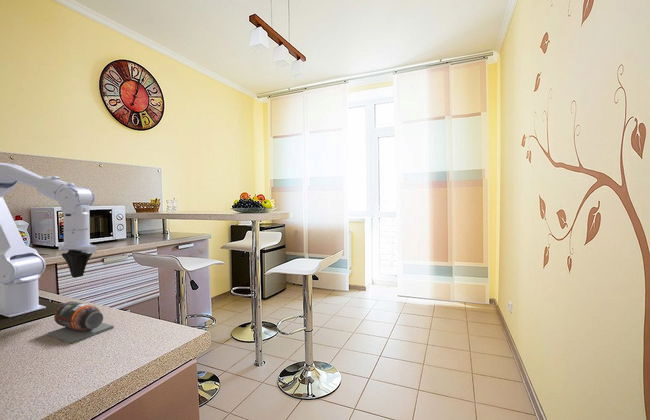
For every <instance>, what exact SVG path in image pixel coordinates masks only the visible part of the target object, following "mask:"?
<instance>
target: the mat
mask: <svg viewBox="0 0 650 420" xmlns="http://www.w3.org/2000/svg"><path fill="white" fill-rule="evenodd" d="M114 327H115V326H114V325H112V324H109V323H105V322H102V323H101V324H100V325H99V326H98V327H96V328H94V329H90V330H87V331H78V330H75V329H71V328H68V327H64V326H63V327H61V328H59V329H55V330H52V331H48V332H47V336H49V337H52V338H55V339H57V340H58V339H59V340H61V341H63V342H67V343H70V344H74V343H77V342H79V341H82V340H85V339H87V338H90V337H93V336H95V335H98V334H102V333H104V332H107V331H109V330H111V329H114Z"/></svg>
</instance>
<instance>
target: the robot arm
mask: <svg viewBox="0 0 650 420" xmlns="http://www.w3.org/2000/svg"><path fill="white" fill-rule="evenodd" d="M18 183H22V184H25V185H27V186H29V187H30V186H31V187H32V188H36V191H37V193H39V194H40V195H42V196H44V197H47V198H49V199H51V200H54V201H56V202H57V203H58V205H59V206H60V209H61V210H60V212H61V214H63V242H61V243H58V250H59V251H67V252H64V253H61V256H62V258H63V260H64V261H65V262H66V264H67V266H68V269H69V272H70V275H71V277H72V278H74V279H75V278H79V277H80V278H81V277H83V276H84V273H85V271H86V267H87V265H88V261H89V260H90V258H91V257H92V255H93V254H96V253H98V251H97V245H94V244H92V243H91V237H90V236H91V235H90V233H91V232H90V231H91V229H90V224H91V223H90V222H91V221H90V207H91V206H92V205H93V203H94V202H95V194H94V192H93V191H92V190H91V189H89V188H88V187H85V186H84V187H77V186H76V184H75V183H73V182H66V181H65V180H64V181H63V180H61V176H57V175H52V176H51V175H50V176H44V177H43V176H41V175H39V174H38V173H35V172H33V171H31V170H28V169H27V168H24V167H23V166H22V165H18V164H15V163H11V162H10V163H5V162H0V315H2V316H4V317H8V318H12V317H16V316H17V317H18V316H20V315H24V314H27V313H31V312H35V311H40V310H43V309H46V306H44V305H41V304H40V303H39V299H40V298H39V278H41V277H42V274H43V273H44V272H45V270H46V266H47V263H46V261H45V259H44V257H42V256H41V255H40V254H39V253H38V251H37V249H36V248H33V247H31V246H28V245H26V244H25V242H24V240H23V237H22V235H21V233H20V230H19V229H18V227H17V225H16V222H15V220H14V218H13V215H12V213H11V212H10V209H9V207H8V205H7V203H6V201H5V198H4V197H5V195H6V194H7V195H8V194H9V193H10V192H11V191H12V190H13V189H14V188H15V187H16V186H17V184H18Z"/></svg>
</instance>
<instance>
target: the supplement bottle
mask: <svg viewBox="0 0 650 420" xmlns="http://www.w3.org/2000/svg"><path fill="white" fill-rule="evenodd" d="M53 317H54V321H55V323H56V324H57V325H59V326H62V327H63V328H64V327H68V328H71V329H75V330H78V331H87V330H90V329H94V328H96V327H98V326H99V325H100V324H101V323H103V321H104V314H103V313H102V312H101V310H100V309H99V308H98V307H97V306H95V305H90V304H87V303H81V302H77V301H67V302H65V303H63V304H61V305H60V306H59V307H58V308H57V309H56V310H55V313H54V316H53Z"/></svg>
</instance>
